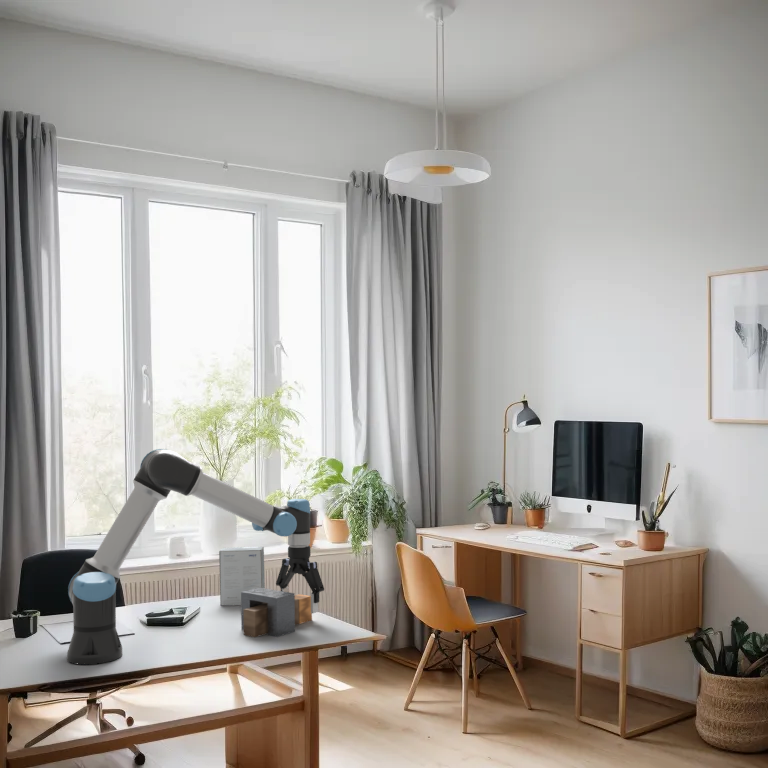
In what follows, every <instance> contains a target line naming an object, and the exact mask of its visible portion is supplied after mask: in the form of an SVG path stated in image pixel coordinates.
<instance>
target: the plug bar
mask: <svg viewBox="0 0 768 768" xmlns="http://www.w3.org/2000/svg"><path fill="white" fill-rule="evenodd" d="M294 598H295V626H296V625H301V624H304V623H307V622H311V621H313V613H311V595H305V594H294ZM243 635H244V636H247V637H251V638H252V637H253V638H257V637H261V636H263V635H264V636H265V635H268V603H265V604H262V605H258V606H254V607H250V608H247V609H244V630H243Z"/></svg>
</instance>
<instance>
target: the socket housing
mask: <svg viewBox="0 0 768 768" xmlns="http://www.w3.org/2000/svg"><path fill="white" fill-rule="evenodd" d="M294 595H295V593H294V592H290V591H289V592H283V591H281V590H278V589H277V590H276V589H270V588H266V587H265V588H255V589H251V590H247V591H243V592H241V605H240V615H241V617H240V618H241V619H240V620H241V623H240V624H241V627H240V628H241V630H243V631H244V609H247V608H250V607H254V606H258V605H262V604H265V603H268V633H267V636H272V637H277V638H279V637H281V636H284V635H287V634H290V633H294V632H295V631H296V625H295V598H294Z"/></svg>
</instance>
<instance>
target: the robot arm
mask: <svg viewBox="0 0 768 768" xmlns="http://www.w3.org/2000/svg"><path fill="white" fill-rule="evenodd" d="M132 482H133V486H134V488H133V490H132V491H131V492H130V495H129V496H128V498H127V500H126V501H125V503H124V504H123V506H122V508H121V510H120V511H119V513H118V515H117V517H116V518H115V520H114V521H113V523H112V524H111V527H110V528H109V530H108V532H107V534H106V535H105V536H104V538H103V540H102V542H101V544H100V545H99V547H98V549H97V550H96V552H95V554H94V556H92V557H90V558H86V559H85V561H84V563H83V564H82V566H81V567H80V569H79V571H77V572H76V573H75V574H74V575H73V576H72V578H71V579H70V581H69V584H68V587H67V589H68V590H67V592H68V593H67V594H68V598H69V600H70V602H71V604H72V606H73V608H72V611H73V614H72V615H73V617H72V618H73V619H72V621H73V622H72V623H73V633H72V637H71V639H70V643H69V645H68V650H67V652H66V654H67V655H66V656H67V657H66V659H67V660H68V661H69V662H68V661H67V662H68V663H70V662H72V663H71V664H73V663H78V664H77V665H81V664H89V665H98V664H97V663H99V664H104V663H110V662H112V661H115V660H118V659H120V658H121V657H122V656H123V646H122V642H121V639H120V636H119V634H118V630H117V625H116V624H117V622H116V621H117V617H116V615H117V613H116V609H117V607H116V605H117V604H116V603H117V602H116V601H117V600H116V597H117V596H116V592H117V591H116V590H117V583H118V582H119V580H120V579H121V574H120V569H121V567H122V565H123V563H124V562H125V560H126V558H127V556H128V555H129V554H130V552H131V549H132V548H133V547H134V544H135V543H136V541H137V539H138V538H139V536H140V534H141V532H142V530H143V529H144V527H145V525H146V524H147V522H148V520H149V518H150V517H151V515H152V514H153V512H154V510H155V508H156V507H157V505H158V503H159V502H160V501H162V500H165V499H167V497H168V496H169V494H170V492H172V491H173V492H176V493H177V494H181V495H184V496H186V497H189V496H193V497H196V498H198V499H200V500H201V501H204V502H206V503H209V504H211V505H213V506H215V507H218V508H219V509H222V510H224V511H225V512H228V513H230V514H233V515H234V516H236V517H239V518H241V519H244V520H245V521H248V522H249V523H250V522H251V525H252V529H253V530H254V531H255V532H264V531H269V532H271V533H273V534H276V535H277V536H280V537H287V545H288V547H287V557H286V558H283V559H282V560H281V566H280V570H279V573H278V575H277V578H276V582H275V586H278V587H279V588H280V591H283V592H289V593H290V587H289V584H290V583H291V580H292V579H293V578H294V575H296V574H298V575H301V576H303V577H304V579H305V581H306V583H307V585H308V586H309V588H310V590H311V592H310V596H311V613H312V614H315V613H319V603H320V593H321V592H324V591H325V587H324V584H323V581H322V578H321V575H320V572H319V569H318V562H317V561H312V562H311V561H310V557H311V554H312V553H311V546H310V545H311V506H310V501H309V500H308V499H306V498H291V499H288V500H287V504H286V505H284V506H274V505H272V504H270V503H268V502H266V501H264V500H262V499H260V498H258V497H256V496H253V495H251V494H250V493H248V492H245V491H243V490H241V489H239V488H237V487H235V486H233V485H231V484H228V483H226V482H224V481H222V480H220V479H218V478H216V477H214V476H212V475H209V474H207V473H206V472H204V471H203V469H202V466H201V467H200V466H198V465H197V464H195V463H194V462H191V461H190V460H188V459H186V458H185V457H184V456H182V455H181V454H180V453H178V452H176V451H173V450H169V449H167V448H157V449H154V450H152V451H150V452H148V453H147V454H146V455H145V456H144V457H143V458H142V460H141V463H140V468H139V470H138V471H137V474H136V475H135V477H134V478H133V480H132Z"/></svg>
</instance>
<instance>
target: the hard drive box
mask: <svg viewBox="0 0 768 768" xmlns="http://www.w3.org/2000/svg"><path fill="white" fill-rule="evenodd" d="M264 548H265V547H264V546H243V547H242V546H241V547H239V546H238V547H223V548H221V549H220V550H219V552H218V553H219V555H218V556H219V557H218V558H219V559H218V560H219V596H220V597H219V599H220V602H219V603H220V606H230V607H231V606H241V592H243V591H247V590H251V589H255V588H265V589H266V587H265V579H266V578H265V552H264V551H265V550H264Z"/></svg>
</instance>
